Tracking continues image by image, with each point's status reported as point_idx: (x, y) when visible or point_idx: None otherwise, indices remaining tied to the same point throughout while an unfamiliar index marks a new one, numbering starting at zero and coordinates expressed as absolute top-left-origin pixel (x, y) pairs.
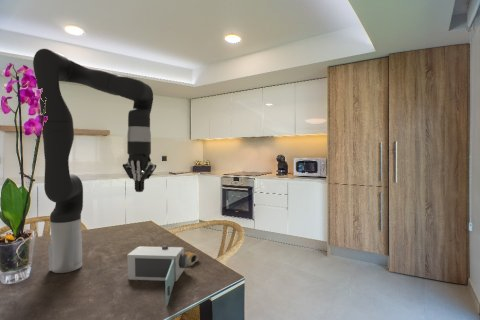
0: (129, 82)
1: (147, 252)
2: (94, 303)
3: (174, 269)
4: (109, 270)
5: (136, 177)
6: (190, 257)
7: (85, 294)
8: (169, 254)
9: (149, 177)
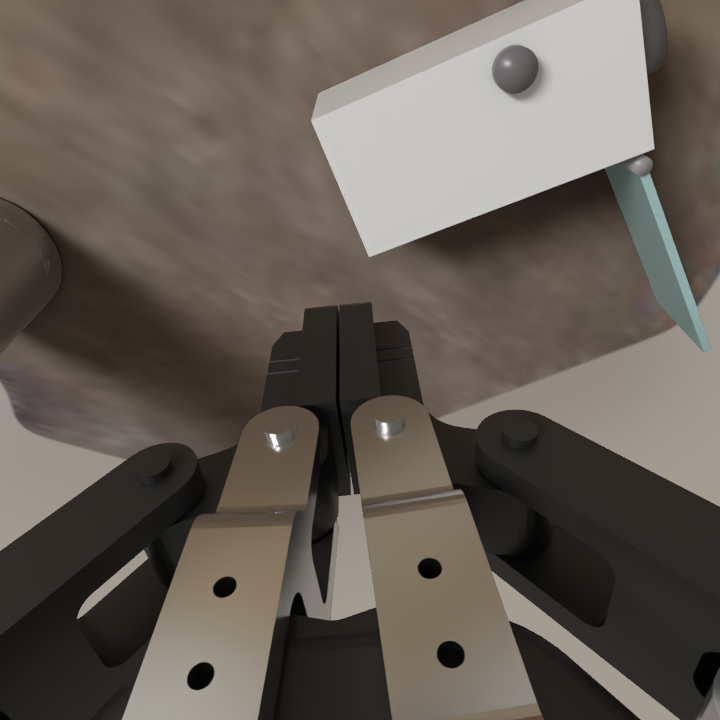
0: None
1: (449, 180)
2: None
3: None
4: (195, 179)
5: (336, 551)
6: None
7: None
8: (602, 147)
9: (562, 426)
